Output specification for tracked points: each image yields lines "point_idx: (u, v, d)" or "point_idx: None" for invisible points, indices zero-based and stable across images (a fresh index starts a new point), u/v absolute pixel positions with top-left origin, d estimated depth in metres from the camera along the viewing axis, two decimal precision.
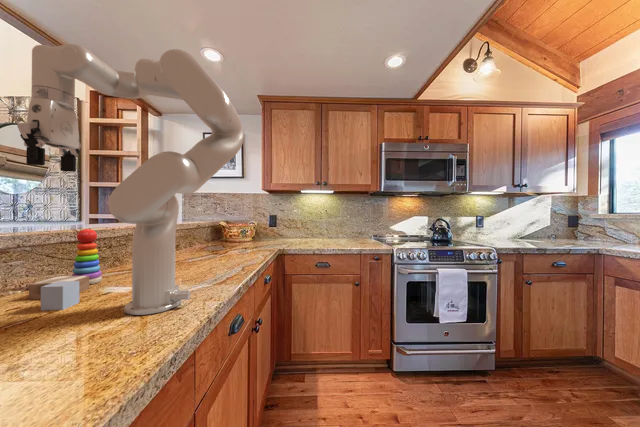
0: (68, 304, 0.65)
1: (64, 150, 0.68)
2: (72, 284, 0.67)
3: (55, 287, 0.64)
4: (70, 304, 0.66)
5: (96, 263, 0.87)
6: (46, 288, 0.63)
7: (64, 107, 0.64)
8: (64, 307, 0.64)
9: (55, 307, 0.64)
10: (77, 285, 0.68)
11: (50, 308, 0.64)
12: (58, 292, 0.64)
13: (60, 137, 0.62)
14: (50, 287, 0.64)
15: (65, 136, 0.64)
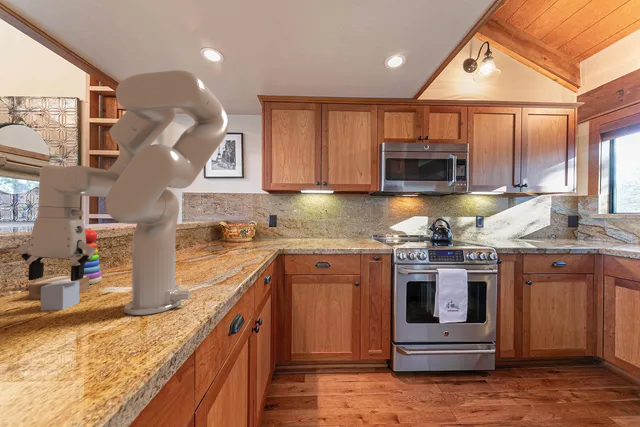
0: (68, 304, 0.65)
1: None
2: (72, 284, 0.67)
3: (55, 287, 0.64)
4: (70, 304, 0.66)
5: (96, 263, 0.87)
6: (46, 288, 0.63)
7: None
8: (64, 307, 0.64)
9: (55, 307, 0.64)
10: (77, 285, 0.68)
11: (50, 308, 0.64)
12: (58, 292, 0.64)
13: None
14: (50, 287, 0.64)
15: None
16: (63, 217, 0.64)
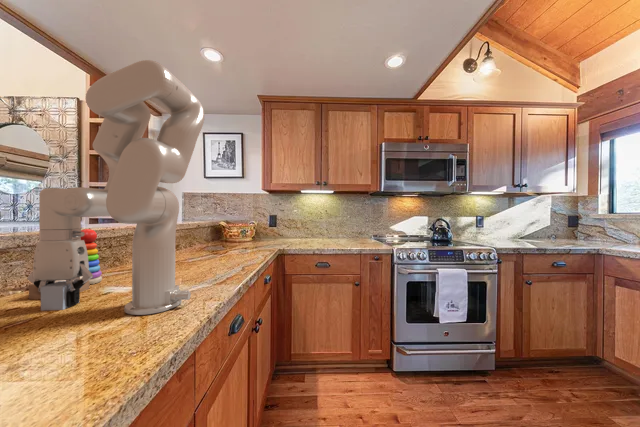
0: None
1: None
2: None
3: (55, 287, 0.64)
4: None
5: (96, 263, 0.87)
6: (46, 288, 0.63)
7: None
8: (64, 307, 0.64)
9: (55, 307, 0.64)
10: None
11: (50, 308, 0.64)
12: (58, 292, 0.64)
13: None
14: (50, 287, 0.64)
15: None
16: (65, 239, 0.64)
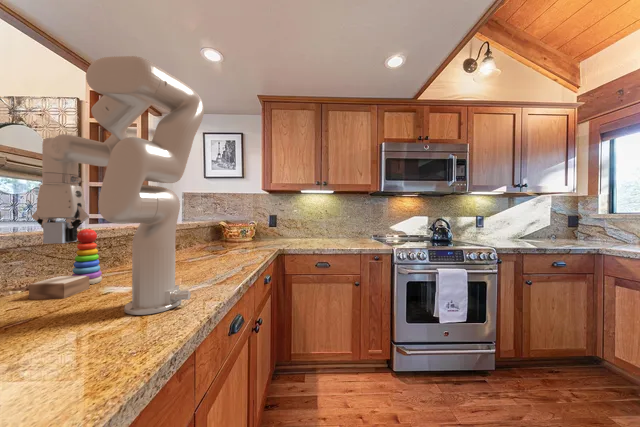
0: None
1: None
2: None
3: (56, 223, 0.73)
4: None
5: (96, 263, 0.87)
6: (48, 224, 0.73)
7: None
8: (63, 241, 0.74)
9: (56, 241, 0.73)
10: None
11: (51, 241, 0.73)
12: (58, 227, 0.73)
13: None
14: (51, 223, 0.73)
15: None
16: (64, 182, 0.74)
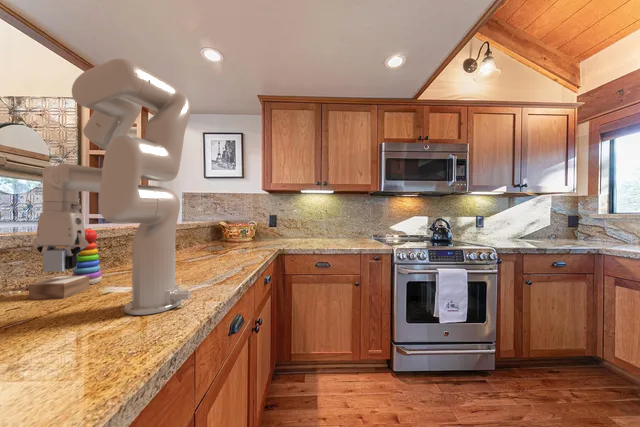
0: None
1: None
2: None
3: (55, 251, 0.73)
4: None
5: (96, 263, 0.87)
6: (47, 252, 0.73)
7: None
8: (63, 269, 0.74)
9: (55, 269, 0.74)
10: None
11: (51, 269, 0.73)
12: (58, 255, 0.74)
13: None
14: (51, 251, 0.73)
15: None
16: (64, 210, 0.74)
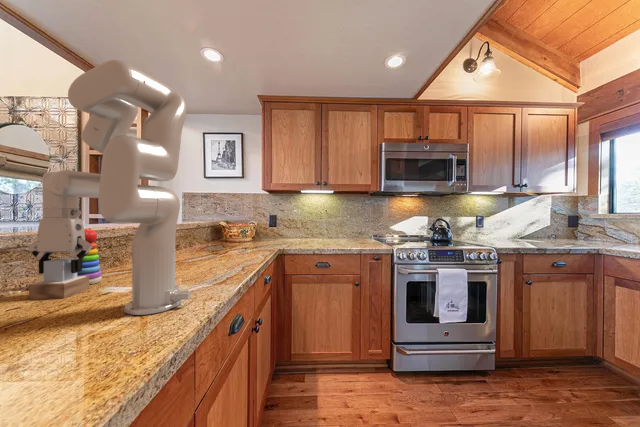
0: (67, 277, 0.75)
1: None
2: None
3: (56, 262, 0.73)
4: (69, 277, 0.76)
5: (96, 263, 0.87)
6: (48, 263, 0.73)
7: None
8: (64, 279, 0.74)
9: (56, 279, 0.73)
10: None
11: (52, 280, 0.73)
12: (59, 266, 0.74)
13: None
14: (52, 262, 0.73)
15: None
16: (64, 216, 0.74)
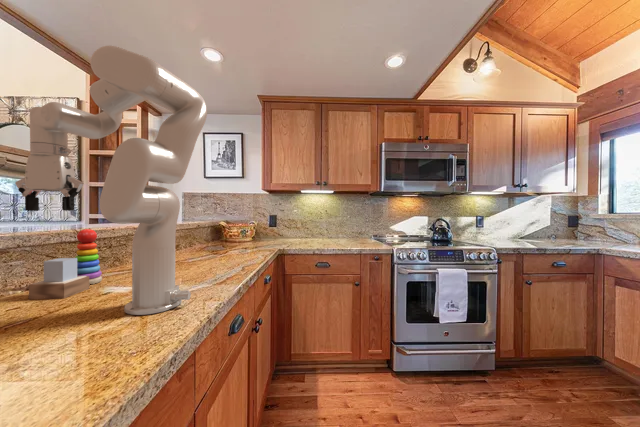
0: (67, 277, 0.75)
1: None
2: (71, 260, 0.76)
3: (56, 262, 0.73)
4: (69, 277, 0.76)
5: (96, 263, 0.87)
6: (48, 263, 0.73)
7: None
8: (64, 279, 0.74)
9: (56, 279, 0.73)
10: (75, 261, 0.78)
11: (52, 280, 0.73)
12: (59, 266, 0.74)
13: None
14: (52, 262, 0.73)
15: None
16: (52, 152, 0.72)
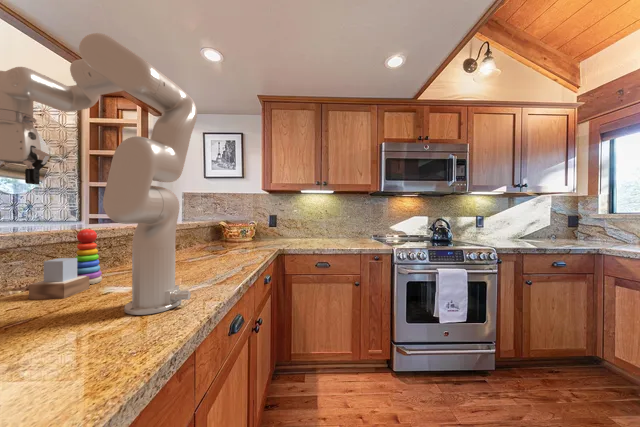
0: (67, 277, 0.75)
1: None
2: (71, 260, 0.76)
3: (56, 262, 0.73)
4: (69, 277, 0.76)
5: (96, 263, 0.87)
6: (48, 263, 0.73)
7: None
8: (64, 279, 0.74)
9: (56, 279, 0.73)
10: (75, 261, 0.78)
11: (52, 280, 0.73)
12: (59, 266, 0.74)
13: None
14: (52, 262, 0.73)
15: None
16: (15, 120, 0.67)
